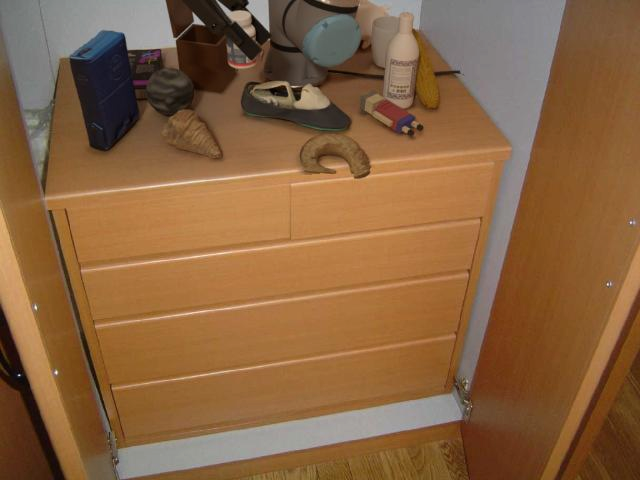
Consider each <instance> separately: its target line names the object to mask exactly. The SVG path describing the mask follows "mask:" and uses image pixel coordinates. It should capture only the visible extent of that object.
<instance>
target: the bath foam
mask: <svg viewBox="0 0 640 480" xmlns="http://www.w3.org/2000/svg"><path fill="white" fill-rule="evenodd" d="M398 17H399V26H398V32H397V33H396V34H395V35H394V37H393V38H392V39H391V41H390V42H389V44H388V47H387V52H386V61H385V68H384V74H383V75H384V78H383V85H382V95H381V96H382V97H384V100H386V99H387V100H389V101H391V102H392V103H394V104H396V105H397V106H399V107H401V108H402V109H404V110H406V109H408V108H410V107H411V106H412V105H413V104H414V98H415V93H416V89H415V84H416V76H417V68H418V60H419V47H418V43H417V41H416V39H415V37H414V35H413V33H412V28H413V29H414V27H413V26H414V18H415V16H414V14H413V13H411V12H400V14H399V16H398Z"/></svg>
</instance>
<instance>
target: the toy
mask: <svg viewBox="0 0 640 480" xmlns="http://www.w3.org/2000/svg"><path fill="white" fill-rule="evenodd" d="M359 109H360V110H361V111H363V114H367V113H368V114H369V115H371V116H372V117H373V118H374V119H376V120H378V121H379V122H380V123H382V124H384V125H385V126H386V127H388V128H390V129H392V130H393V132H396V133H397V134H399V135H401V134H403V133H405V134H406V135H408V136H409V137H412V136H414V135H415V131H414V130H413V129H412V128H414V129H416V130H418V131H419V132H421V131H423V130H424V127H425V126H424V125H423V124H421V123H419V122H417V121H416V116H415V115H413V114H412V113H411V112H410V111H407V110H406V109H402V108H401V107H399V106H397V105H396V104H394V103H392V102H391V101H389V100H387V99H386V100H384V97H382V95H381V94H379V92H378V91H376V90H371V91H369V92H366V93H365V94H363V95H361V96H360V100H359Z"/></svg>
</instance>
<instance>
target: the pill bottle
mask: <svg viewBox="0 0 640 480" xmlns="http://www.w3.org/2000/svg"><path fill="white" fill-rule="evenodd" d="M227 16H228V18H229V19H230V20H231V22H232V23H234V22H235V21H236V23H237V24H238V25H239V26H240V27H241V28H242V29H243V30H244V31H245V32H246V33H247V34H248V35H249V36H250V37H251V38H252V39H253V40H254V41H255V43H256V44H257V41H256V31H255V28H254V26H253V25H251V22H252V18H251V14H250V13H249V12H247V11H233V12H231V11H230V12H229V13H228V14H227ZM226 43H227V56H228V63H229V65H230V66H231V67H233V68H236V70H237V69H238V70H246V69H247V70H248V69H251V68H253V67H255V66H256V65H257V63H258V55H257V56H256V57H255V58H254V59H253V60H250V59H249V58H248V57H247V56H246V55H245V54H244V53H243V52H242V51H241V50H240V49H239V48H238V47H237V46H236V45H235V44H234V43H233V42H232V41H231V40H230V39H229V38H228V37H227V36H226Z"/></svg>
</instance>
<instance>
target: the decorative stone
mask: <svg viewBox="0 0 640 480" xmlns="http://www.w3.org/2000/svg"><path fill="white" fill-rule="evenodd" d="M146 94H147V99H146V100H147V101H148V104H149V105H150V106H151V108H153V109H154V110H155V111H156V112H157V113H158V114H160V115H162V116H165V117H166V116H167V117H171V116H173V115H174V114H176V113H177V112H178V111H180V110H183V109H189V108H191V106H192V104H193V102H194V99H195V94H196V93H195V89H194V86H193V84H192V81H191V79H190V78H189V77H188V76H187V75H186V74H185V73H184V72H183V71H181V70H179V68H176V67H161V69H160V70H158V71H156V72H155V73H154V74H152V76H151V77H150V78H149V80H148V83H147V86H146ZM189 110H190V109H189Z"/></svg>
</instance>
